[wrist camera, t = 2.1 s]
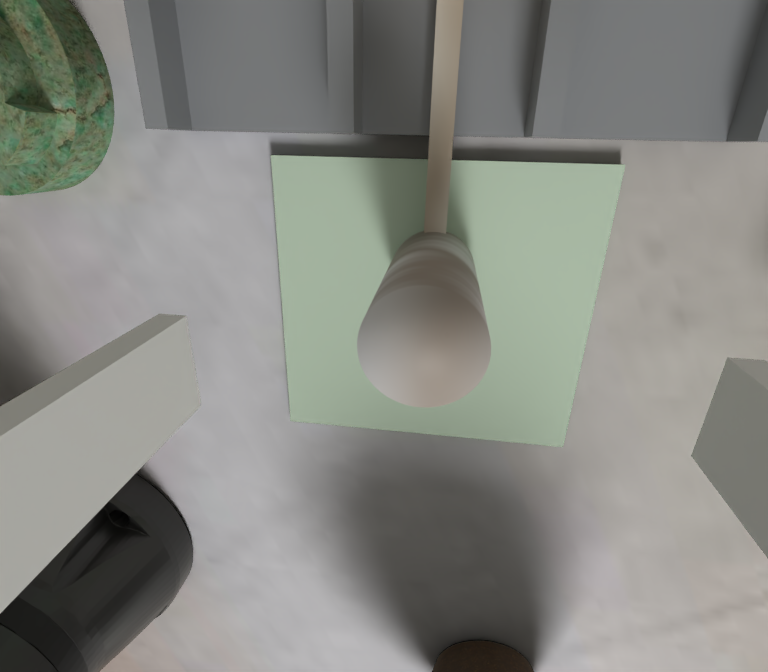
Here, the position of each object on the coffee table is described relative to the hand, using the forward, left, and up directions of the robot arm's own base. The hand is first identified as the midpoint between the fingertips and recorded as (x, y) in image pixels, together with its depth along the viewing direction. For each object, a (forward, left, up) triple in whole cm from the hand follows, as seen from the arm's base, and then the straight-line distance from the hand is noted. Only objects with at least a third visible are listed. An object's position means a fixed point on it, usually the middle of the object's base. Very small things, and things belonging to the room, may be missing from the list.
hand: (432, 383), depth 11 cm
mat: (0, -3, -13) cm, 13 cm away
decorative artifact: (-21, +8, -13) cm, 26 cm away
